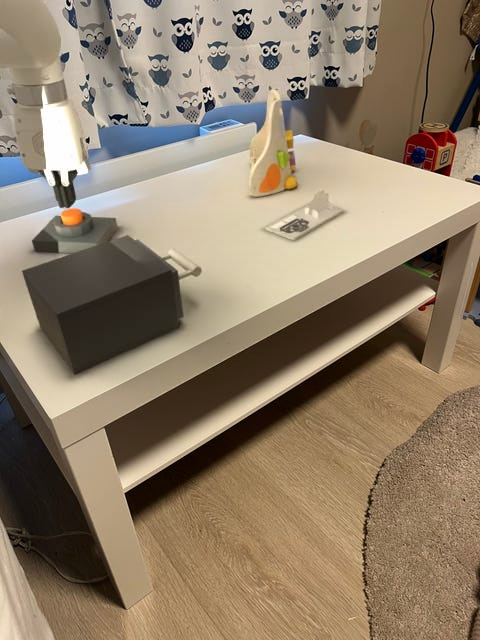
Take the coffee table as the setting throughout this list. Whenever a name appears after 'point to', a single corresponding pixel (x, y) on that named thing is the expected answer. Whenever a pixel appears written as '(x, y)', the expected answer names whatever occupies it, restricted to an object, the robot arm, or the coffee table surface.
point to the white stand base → (305, 218)
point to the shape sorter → (272, 153)
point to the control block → (74, 234)
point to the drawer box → (102, 301)
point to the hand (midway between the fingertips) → (67, 204)
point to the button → (72, 216)
